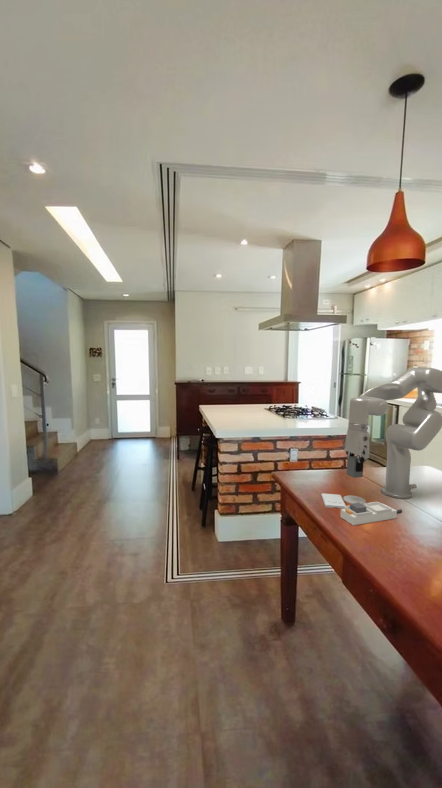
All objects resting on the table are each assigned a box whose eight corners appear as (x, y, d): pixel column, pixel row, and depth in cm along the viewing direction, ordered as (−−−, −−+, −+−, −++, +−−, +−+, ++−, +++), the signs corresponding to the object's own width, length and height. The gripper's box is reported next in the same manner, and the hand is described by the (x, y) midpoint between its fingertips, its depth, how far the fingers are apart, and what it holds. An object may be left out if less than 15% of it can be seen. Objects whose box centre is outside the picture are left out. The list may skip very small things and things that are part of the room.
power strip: (394, 508, 137) (394, 495, 136) (408, 516, 130) (409, 502, 130) (340, 516, 129) (341, 503, 128) (352, 525, 122) (353, 511, 122)
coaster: (355, 495, 150) (355, 494, 150) (370, 503, 142) (370, 502, 142) (338, 497, 147) (338, 496, 147) (352, 505, 139) (352, 505, 139)
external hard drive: (340, 498, 148) (346, 510, 136) (321, 496, 150) (325, 508, 138) (340, 494, 148) (346, 506, 136) (321, 493, 150) (325, 504, 137)
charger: (355, 473, 146) (356, 455, 146) (362, 477, 142) (363, 458, 141) (346, 474, 145) (347, 455, 144) (353, 477, 141) (354, 458, 140)
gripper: (380, 430, 135) (377, 475, 136) (351, 423, 151) (349, 463, 152) (364, 431, 132) (361, 476, 134) (337, 423, 148) (335, 464, 150)
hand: (355, 469), depth 143 cm, fingers closed on charger, 4 cm apart
